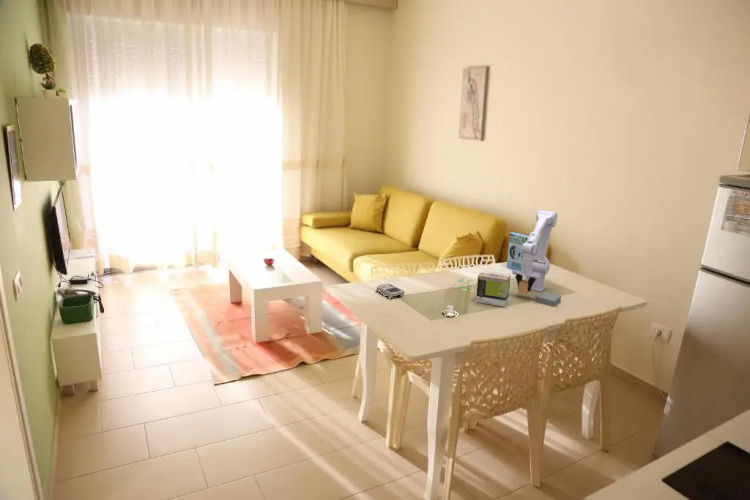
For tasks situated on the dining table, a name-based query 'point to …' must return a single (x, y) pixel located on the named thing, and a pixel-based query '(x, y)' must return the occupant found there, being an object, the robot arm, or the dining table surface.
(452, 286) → the set of multicoloured pieces
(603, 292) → the dining table surface
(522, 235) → the gum box
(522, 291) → the terracotta block
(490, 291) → the tea box
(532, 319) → the dining table surface
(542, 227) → the robot arm
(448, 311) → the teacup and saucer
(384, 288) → the handheld gaming device
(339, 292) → the dining table surface
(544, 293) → the slate base
